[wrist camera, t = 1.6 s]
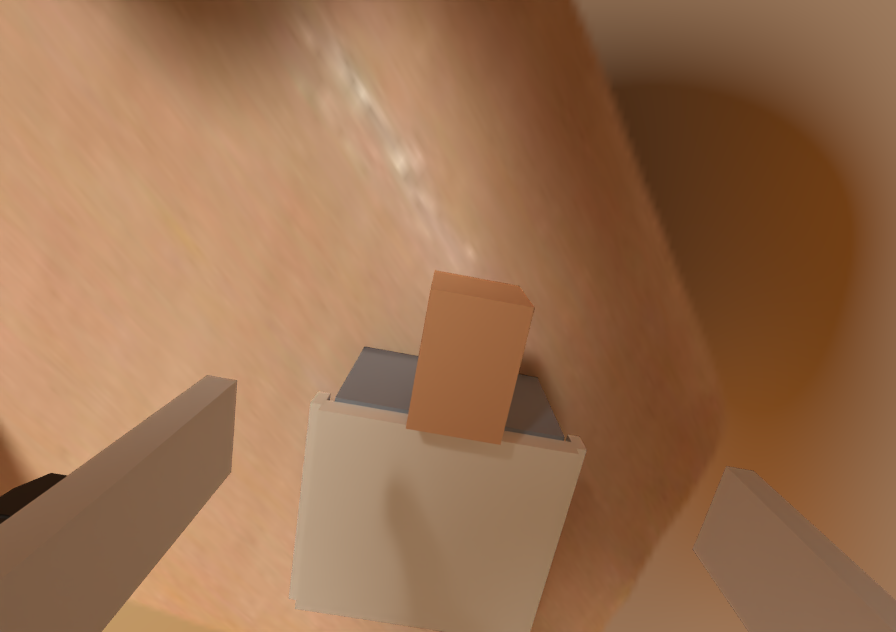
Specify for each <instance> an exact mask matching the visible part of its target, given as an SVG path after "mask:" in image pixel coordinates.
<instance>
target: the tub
mask: <svg viewBox="0 0 896 632" xmlns="http://www.w3.org/2000/svg"><path fill="white" fill-rule="evenodd" d="M418 357H419V356H414V355H409V354H403V353H397V352H392V351H386V350H380V349H375V348H369V347H364V348H363V350H362V352H361V354H360V356H359V357H358V359H357V361H356V363H355V364H354V366H353V368H352V370H351V371H350V373H349V375H348V377H347V378H346V380H345V382H344V384H343V385H342V387H341V389H340V391H339V392H338V394H337V396H336V398H335V401H336V402H341V403H347V404H353V405H359V406H365V407H370V408H376V409H382V410H388V411H394V412H399V413H405V414H408V412H409V407H410V401H411V396H412V390H413V385H414V379H415V374H416V368H417V362H418ZM504 431H509V432H515V433H521V434H527V435H533V436H538V437H544V438H550V439H556V440H562V441H564V435H563V433H562V431H561V428H560V426H559V424H558V422H557V420H556V417H555V415H554V413H553V411H552V409H551V406H550V404H549V402H548V400H547V398H546V395H545V393H544V391H543V389H542V387H541V385H540V382H539V380H538V378H537V377H532V376H526V375H521V374H518V377H517V381H516V385H515V389H514V393H513V397H512V401H511V405H510V409H509V413H508V417H507V421H506V425H505V429H504Z"/></svg>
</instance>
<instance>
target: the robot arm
mask: <svg viewBox="0 0 896 632" xmlns="http://www.w3.org/2000/svg"><path fill="white" fill-rule="evenodd" d="M236 390H237V380H232V379H226V378H221V377H215V376H209V375H207V376H205V377H204V378H203V379H201V380H200V381H198V382H197V383H196V384H194V385H193V386H192V387H190V388H189V389H187V390H186V391H185V392H183V393H182V394H180V395H179V396H178V397H176V398H175V399H173V400H172V401H171V402H169V403H168V404H167V405H165V406H164V407H162V408H161V409H160V410H158V411H157V412H155V413H154V414H153V415H151V416H150V417H148V418H147V419H146V420H144V421H143V422H142V423H140V424H139V425H137V426H136V427H135V428H133V429H132V430H130V431H129V432H128V433H126V434H125V435H123V436H122V437H121V438H119V439H118V440H117V441H115V442H114V443H112V444H111V445H110V446H108V447H107V448H105V449H104V450H103V451H101V452H100V453H98V454H97V455H96V456H94V457H93V458H92V459H90V460H89V461H87V462H86V463H85V464H83V465H82V466H80V467H79V468H78V469H76V470H75V471H73V472H72V473H71V474H69V475H68V476H66V475H60V474H54V473H50V474H47V475H45V476H42V477H40V478H38V479H35V480H33V481H30V482H28V483H26V484H23V485H21V486H18V487H16V488H14V489H12V490H10V491H9V492H7V493H6V494H4V495H3V496H1V497H0V632H102V630H103V629H104V628H105V627H106V626H107V624H108V623H109V622H110V621H111V620H112V618H113V617H114V616H115V615H116V613H117V612H118V611H119V610H120V608H121V607H122V606H123V605H124V603H125V602H126V601H127V600H128V599H129V597H130V596H131V595H132V594H133V592H134V591H135V590H136V589H137V587H138V586H139V585H140V584H141V583H142V581H143V580H144V579H145V578H146V576H147V575H148V574H149V573H150V571H151V570H152V569H153V568H154V567H155V565H156V564H157V563H158V562H159V560H160V559H161V558H162V557H163V555H164V554H165V553H166V552H167V550H168V549H169V548H170V547H171V546H172V544H173V543H174V542H175V541H176V539H177V538H178V537H179V536H180V534H181V533H182V532H183V531H184V530H185V528H186V527H187V526H188V525H189V523H190V522H191V521H192V520H193V518H194V517H195V516H196V515H197V514H198V512H199V511H200V510H201V509H202V507H203V506H204V505H205V504H206V502H207V501H208V500H209V499H210V497H211V496H212V495H213V494H214V493H215V491H216V490H217V489H218V488H219V486H220V485H221V484H222V483H223V481H224V480H225V479H226V478H227V477H228V475H229V474H230V473H231V467H232V451H233V436H234V421H235V405H236ZM693 551H694V552H695V554H696V555H697V557H698V558H699V560H700V561H701V562H702V564H703V565H704V567H705V568H706V570H707V571H708V573H709V574H710V575H711V577H712V579H713V580H714V582H715V583H716V585H717V586H718V587H719V589H720V590H721V592H722V593H723V595H724V596H725V598H726V599H727V601H728V602H729V604H730V605H731V607H732V608H733V610H734V611H735V612H736V614H737V615H738V617H739V618H740V620H741V621H742V623H743V624H744V626H745V627H746V629H747V630H748V631H749V632H896V600H895V599H894V598H893V597H891V595H889V594H888V593H887V592H886V591H885V590H884V589H883V588H882V587H881V586H880V585H878V584H877V583H876V582H875V581H874V580H873V579H872V578H871V577H870V576H868V575H867V574H866V573H865V572H864V571H863V570H862V569H861V568H860V567H859V566H858V565H856V564H855V563H854V562H853V561H852V560H851V559H850V558H849V557H848V556H846V555H845V554H844V553H843V552H842V551H841V550H840V549H839V548H838V547H837V546H836V545H835V544H833V543H832V542H831V541H830V540H829V539H828V538H827V537H826V536H825V535H823V534H822V533H821V532H820V531H819V530H818V529H817V528H816V527H815V526H814V525H812V524H811V523H810V522H809V521H808V520H807V519H806V518H805V517H804V516H803V515H802V514H800V513H799V512H798V511H797V510H796V509H795V508H794V507H793V506H792V505H791V504H789V503H788V502H787V501H786V500H785V499H784V498H783V497H782V496H781V495H780V494H778V493H777V492H776V491H775V490H774V489H773V488H772V487H771V486H769V485H768V484H767V483H766V482H765V481H764V480H763V479H762V478H761V477H760V476H759V475H758V474H757V473H755V472H754V471H752V470H746V469H740V468H734V467H729V466H726V468H725V470H724V473H723V475H722V478H721V480H720V483H719V485H718V488H717V490H716V493H715V495H714V497H713V500H712V502H711V505H710V508H709V510H708V512H707V515H706V517H705V520H704V523H703V525H702V527H701V530H700V532H699V535H698V537H697V540H696V542H695V544H694V547H693Z"/></svg>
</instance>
